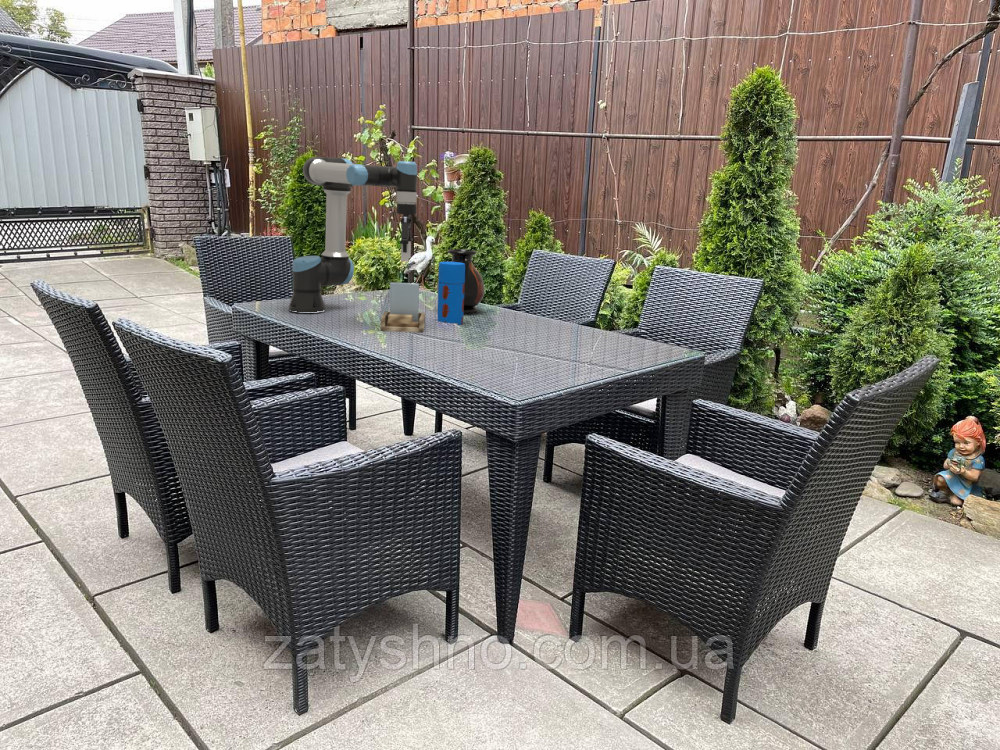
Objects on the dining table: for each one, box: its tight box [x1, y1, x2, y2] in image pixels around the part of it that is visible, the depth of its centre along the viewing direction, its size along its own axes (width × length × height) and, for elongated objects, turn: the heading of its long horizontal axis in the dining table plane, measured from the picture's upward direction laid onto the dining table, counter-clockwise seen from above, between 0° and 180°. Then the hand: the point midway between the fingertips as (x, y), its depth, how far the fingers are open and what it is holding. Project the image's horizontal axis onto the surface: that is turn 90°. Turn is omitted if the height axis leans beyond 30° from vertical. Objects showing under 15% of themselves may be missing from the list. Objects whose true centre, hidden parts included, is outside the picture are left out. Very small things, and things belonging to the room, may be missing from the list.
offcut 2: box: [387, 321, 419, 328], centre depth 288 cm, size 12×5×3 cm, turn 93°
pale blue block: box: [389, 281, 420, 322], centre depth 292 cm, size 11×4×17 cm, turn 93°
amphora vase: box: [436, 248, 485, 315], centre depth 336 cm, size 22×22×28 cm
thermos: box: [437, 261, 465, 326], centre depth 309 cm, size 11×11×25 cm
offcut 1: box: [388, 314, 413, 324], centre depth 287 cm, size 9×5×3 cm, turn 93°
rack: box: [380, 310, 426, 333], centre depth 290 cm, size 16×15×6 cm
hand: (405, 259), depth 288 cm, fingers open, 13 cm apart
